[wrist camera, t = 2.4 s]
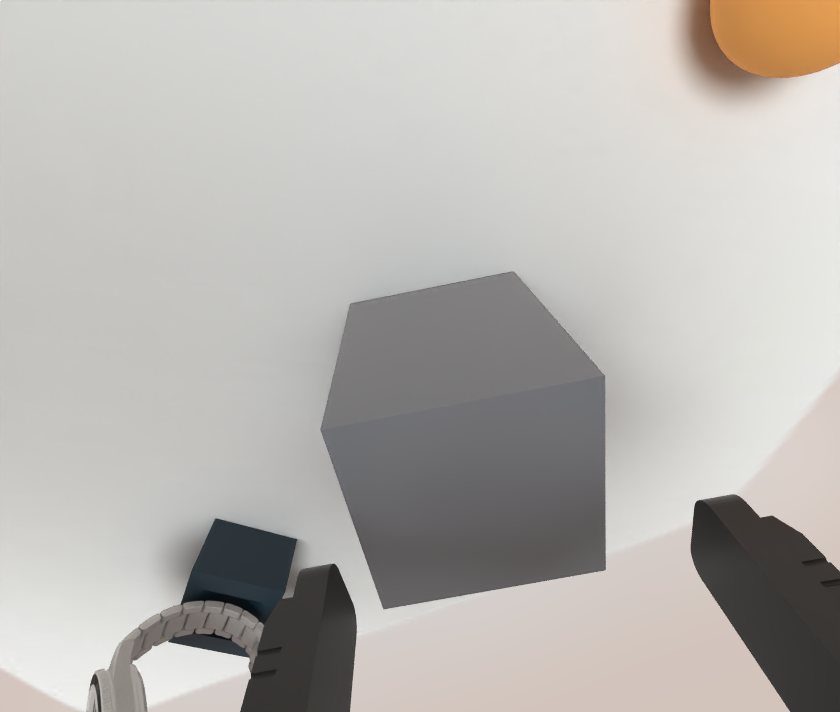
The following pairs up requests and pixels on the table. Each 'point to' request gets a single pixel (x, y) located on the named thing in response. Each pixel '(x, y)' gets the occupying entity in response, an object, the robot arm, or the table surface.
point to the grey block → (467, 441)
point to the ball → (778, 35)
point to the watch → (205, 610)
